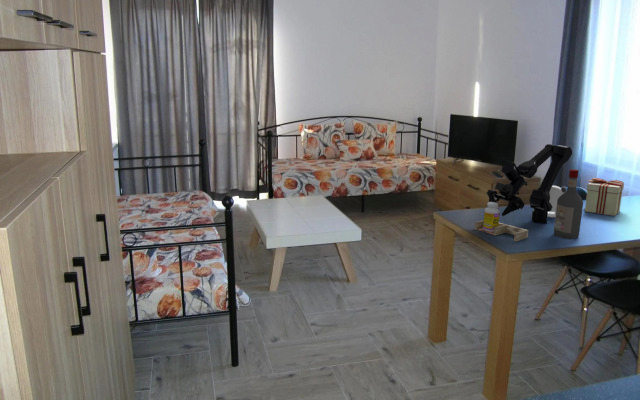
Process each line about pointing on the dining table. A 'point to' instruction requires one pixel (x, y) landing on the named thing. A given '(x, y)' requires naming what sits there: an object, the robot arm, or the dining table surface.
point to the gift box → (604, 196)
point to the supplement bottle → (491, 217)
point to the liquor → (569, 210)
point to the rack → (504, 230)
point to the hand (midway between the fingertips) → (494, 213)
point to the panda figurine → (555, 199)
